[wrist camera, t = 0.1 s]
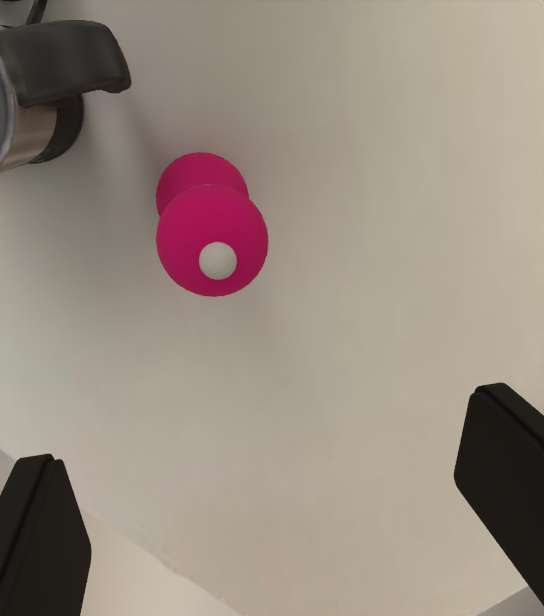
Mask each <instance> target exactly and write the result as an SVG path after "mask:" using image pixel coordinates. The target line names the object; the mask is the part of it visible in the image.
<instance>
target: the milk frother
mask: <svg viewBox="0 0 544 616" xmlns="http://www.w3.org/2000/svg"><path fill="white" fill-rule="evenodd" d="M4 1H19V0H4ZM46 4H47V0H35V1H34V4H33V6H32V9H31V11H30V14H29V16H28V19H27V22H26V25H25V26H20V27H11V26H6V25H0V172H3V171H7V170H10V169H13V168H15V167H18V166H22V165H25V164H36V163H42V162H47V161H50V160H52V159H55V158H57V157H59V156H60V155H62V154H63V153H65V152H66V151H67V150H68V149H69V148H70V147H71V146H72V144H73V143H74V142H75V140H76V139H77V137H78V135H79V132H80V130H81V127H82V121H83V99H82V96H81V94H82V93H86V92H90V91H94V90H103V91H107V92H109V93H120V92H122V91H124V90H127V89H128V88H130V86H131V77H130V73H129V69H128V66H127V63H126V60H125V58H124V55H123V53H122V51H121V48H120V46H119V45H118V42H117V40H116V39H115V37H114V35H113V34H112V32H111V30H110V29H109V28H108V27H107V26H105V25H103V24H101V23H98V22H93V21H85V20H63V21H53V22H44V23H40V21H41V18H42V16H43V13H44V10H45V7H46Z"/></svg>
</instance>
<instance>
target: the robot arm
mask: <svg viewBox="0 0 544 616" xmlns="http://www.w3.org/2000/svg"><path fill="white" fill-rule="evenodd" d="M454 480H455V483H456V486H457V488H458V489H459V491H460V492H461V494H462V495H463V496H464V498H465V499H466V500H467V502H468V503H469V504H470V506H471V507H472V509H473V510H474V511H475V513H476V514H477V515H478V517H479V518H480V519H481V521H482V522H483V524H484V525H485V526H486V528H487V529H488V530H489V532H490V533H491V535H492V536H493V537H494V539H495V540H496V541H497V543H498V544H499V545H500V547H501V548H502V550H503V551H504V552H505V554H506V555H507V556H508V558H509V559H510V560H511V562H512V563H513V565H514V566H515V567H516V569H517V570H518V571H519V573H520V574H521V575H522V577H523V578H524V580H525V581H526V582H527V584H528V585H529V586H530V588H531V589H532V590H533V592H534V593H535V594H536V596H537V597H538V599H539V600H540V601H541V603H542V604H543V606H544V415H542V414H541V413H540V412H539V411H538V410H536V409H535V408H534V407H533V406H532V405H531V404H529V403H528V402H527V401H526V400H525V399H523V398H522V397H521V396H520V395H519V394H517V393H516V392H515V391H514V390H513V389H511V388H510V387H509V386H508V385H506V384H505V383H495V384H489V385H482V386H478V387H477V388H476V389H475V392H474V393H473V394H471V396H470V398H469V403H468V408H467V413H466V417H465V422H464V427H463V432H462V437H461V441H460V446H459V451H458V456H457V461H456V465H455V470H454ZM90 563H91V544H90V540H89V537H88V534H87V531H86V528H85V525H84V522H83V520H82V516H81V513H80V510H79V507H78V504H77V501H76V498H75V495H74V492H73V489H72V486H71V483H70V480H69V477H68V474H67V471H66V468H65V465H64V463H63V461H62V460H61V459H58V460H55V459H54V457H53V456H52V455H51V454H43V455H37V456H31V457H24V458H20V459H18V460H17V462H16V463H15V465H14V467H13V469H12V472H11V474H10V476H9V478H8V480H7V482H6V484H5V486H4V489H3V491H2V493H1V495H0V616H80V613H81V608H82V603H83V598H84V593H85V588H86V583H87V578H88V573H89V568H90Z"/></svg>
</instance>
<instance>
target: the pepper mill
mask: <svg viewBox="0 0 544 616" xmlns="http://www.w3.org/2000/svg"><path fill="white" fill-rule="evenodd" d="M156 204H157V209H158V213H159V216H160V220H159V223H158V227H157V235H156V243H157V251H158V255H159V258H160V261H161V263H162V265H163V267H164V269H165V270H166V272H167V273H168V275H169V276H170V277H171V278H172V279H173V280H174V281H175V282H176V283H177V284H178V285H180V286H181V287H183V288H184V289H186V290H188V291H191V292H193V293H195V294H199V295H203V296H212V297H216V296H225V295H229V294H232V293H234V292H236V291H239V290H241V289H243V288H244V287H245V286H247V285H248V284H249V283H250V282H251V281H252V280H253V279H254V278H255V277H256V276H257V275H258V273H259V272H260V270H261V268H262V267H263V264H264V261H265V259H266V256H267V251H268V233H267V227H266V225H265V222H264V219H263V217H262V215H261V213H260V212H259V210H258V209H257V207H256V206H255V205H254V203H253V202H252V201H251V200H250V199H249V194H248V190H247V186H246V184H245V181H244V179H243V177H242V176H241V174H240V172H239V171H238V170H237V169H236V168H235V167H234V166H233V165H232V164H231V163H230V162H229V161H227V160H225V159H224V158H222V157H219V156H217V155H214V154H210V153H200V152H199V153H191V154H188V155H184V156H182V157H181V158H179V159H177V160H175V161H174V162H173V163H172V164H170V165H169V166H168V167H167V169H166V170H165V171H164V172H163V174H162V176H161V178H160V180H159V183H158V186H157V192H156Z"/></svg>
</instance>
